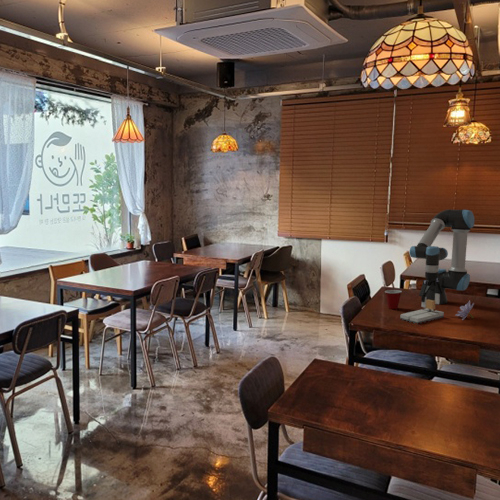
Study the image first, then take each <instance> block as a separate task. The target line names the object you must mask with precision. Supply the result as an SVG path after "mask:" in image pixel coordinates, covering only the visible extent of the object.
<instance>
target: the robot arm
mask: <svg viewBox="0 0 500 500" xmlns="http://www.w3.org/2000/svg"><path fill="white" fill-rule="evenodd" d="M447 227H449V228H451V231H452V232H453V234H452V235H453V237H452V248H451V249H452V250H451V251H452V252H451V264H450V268H448V270H447V269H446V268H440V266H439V265H440V261H443V260H445V259H447V258H448V254H449V252H448V250H447V249H446V248H444V247H439V246H435V245H433V243H434V242H435V240H436V239H437V237H438V235H439V234H440V232H441V231H442V230H444V229H445V228H447ZM474 227H475V216H474V213H473V211H472V210H469V209H450V208H449V209H444V210H441V211H440V212H438V213H436V215H434V216H433V218H432V219H431V220H430V225H429V227H428V228H427V230H426V231H425V232H424V234H423V235H422V237H421V238H420V240H419V242H418V243H417V245H412V246H411V247H409V256H410V257H411V258H415V259H422V260H423V259H424V260H425V266H424V267H425V268H424V270H425V273H424V278H426V280H422V286H421V288H420V291H419V295H418V296H419V297H421V305H420V306H421V308H423V309H425V308H426V300H428V299H429V300H433V301H436V303H435V305H443V304H448V297H447V293H446V290H447V289H448V290H453V291H454V290H455V291H465V290H467V288H468V286H469V285H470V281H471V276H470V274H469V273H468V270H467V268H466V258H467V257H466V256H467V245H468V234H469V232H470V231H471V229H472V228H474ZM432 245H433V246H432Z"/></svg>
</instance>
